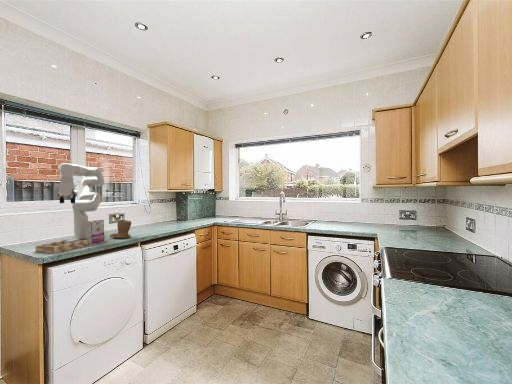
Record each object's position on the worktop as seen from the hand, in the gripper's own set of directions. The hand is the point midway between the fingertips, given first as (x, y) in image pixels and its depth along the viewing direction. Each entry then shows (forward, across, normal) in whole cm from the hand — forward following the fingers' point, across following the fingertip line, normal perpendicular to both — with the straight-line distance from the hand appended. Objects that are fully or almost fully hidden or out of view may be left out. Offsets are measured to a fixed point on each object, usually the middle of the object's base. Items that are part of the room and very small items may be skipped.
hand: (67, 203), depth 181 cm
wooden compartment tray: (+30, +11, -14) cm, 35 cm away
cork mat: (+30, +19, +4) cm, 36 cm away
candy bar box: (+30, +19, +4) cm, 36 cm away
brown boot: (+31, +24, +26) cm, 47 cm away
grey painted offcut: (+28, +12, -8) cm, 31 cm away
